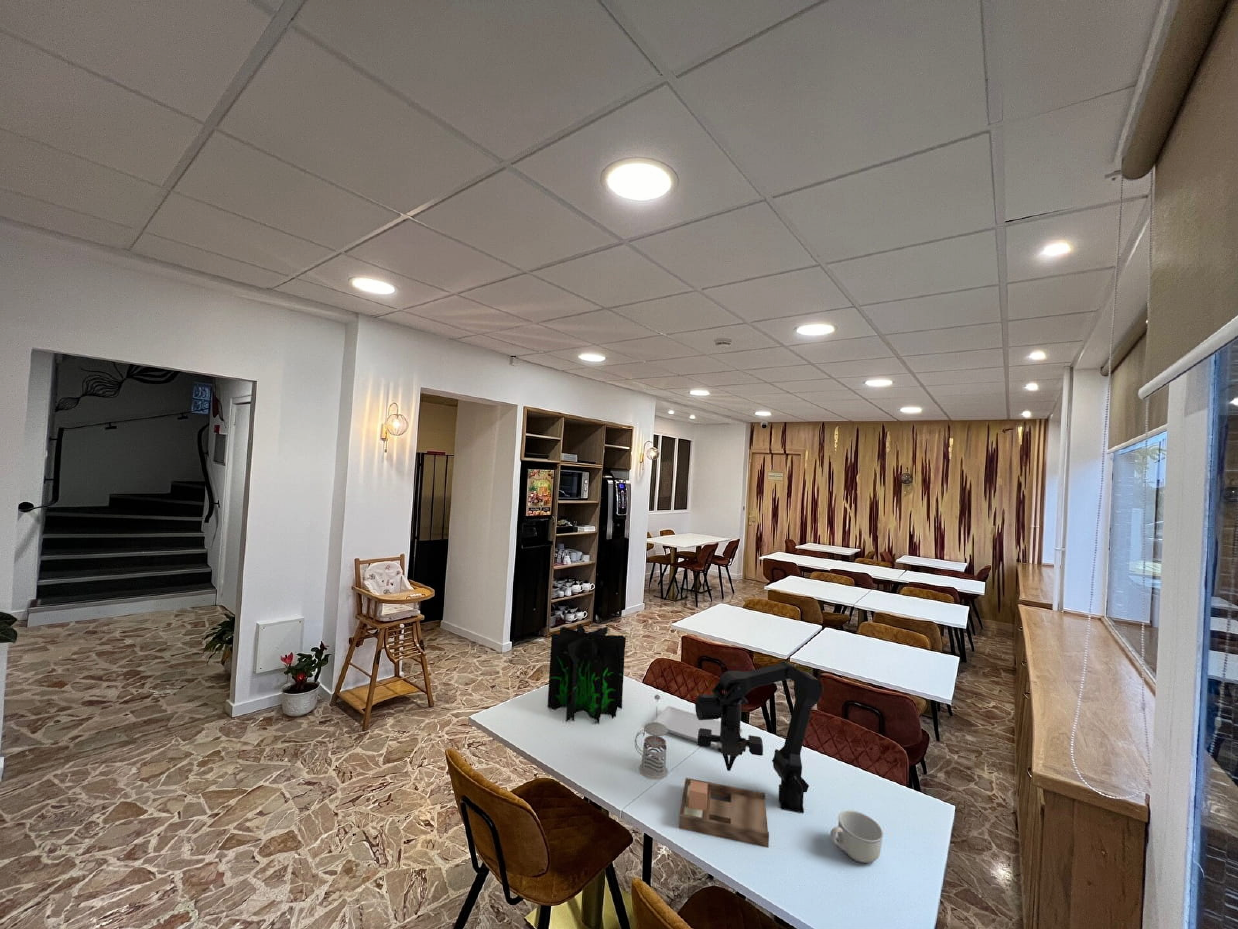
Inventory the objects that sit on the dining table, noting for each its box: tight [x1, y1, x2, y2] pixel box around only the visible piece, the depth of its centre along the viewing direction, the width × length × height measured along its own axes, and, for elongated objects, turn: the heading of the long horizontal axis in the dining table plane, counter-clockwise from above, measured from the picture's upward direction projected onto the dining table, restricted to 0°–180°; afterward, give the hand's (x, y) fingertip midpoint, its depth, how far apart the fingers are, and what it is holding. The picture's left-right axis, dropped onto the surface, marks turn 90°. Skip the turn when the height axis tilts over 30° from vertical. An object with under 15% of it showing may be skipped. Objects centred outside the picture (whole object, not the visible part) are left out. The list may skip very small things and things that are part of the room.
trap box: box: [678, 777, 770, 848], centre depth 144 cm, size 24×18×4 cm
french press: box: [634, 694, 669, 781], centre depth 165 cm, size 10×12×25 cm
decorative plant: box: [547, 623, 627, 724], centre depth 207 cm, size 29×30×30 cm
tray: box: [652, 705, 744, 750], centre depth 190 cm, size 17×32×4 cm, turn 60°
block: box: [689, 780, 708, 811], centre depth 146 cm, size 5×5×5 cm
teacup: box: [830, 809, 884, 864], centre depth 132 cm, size 14×11×8 cm
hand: (728, 770), depth 147 cm, fingers closed
